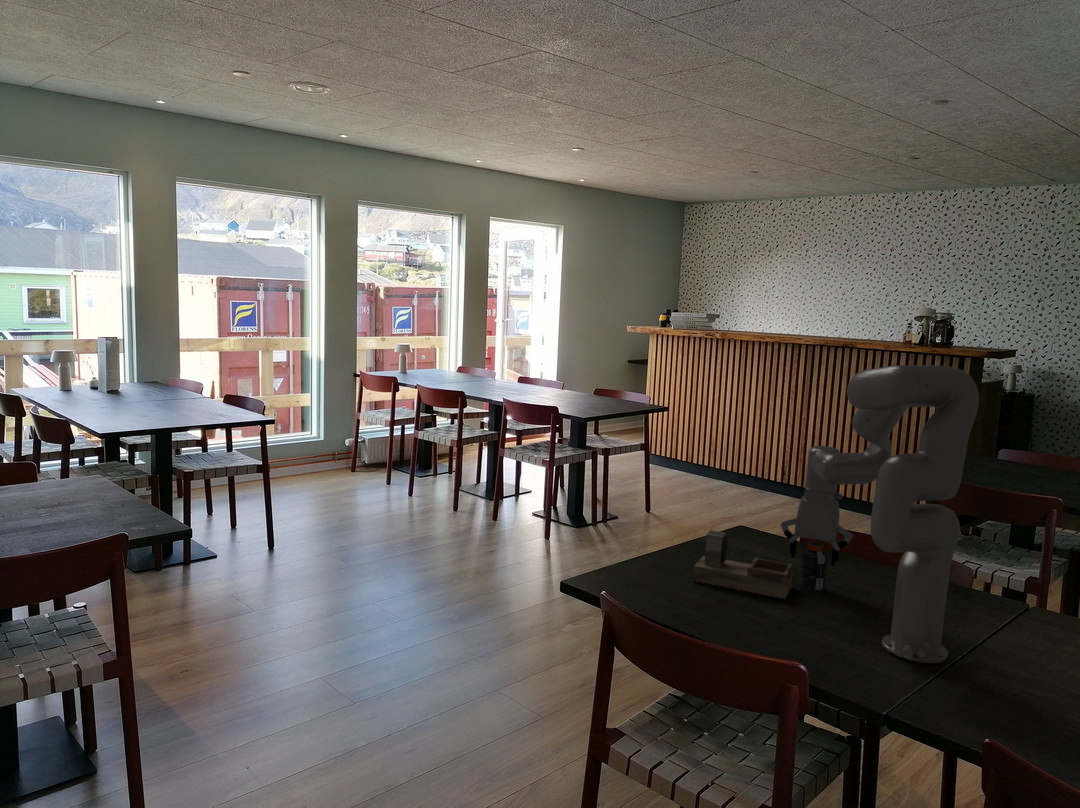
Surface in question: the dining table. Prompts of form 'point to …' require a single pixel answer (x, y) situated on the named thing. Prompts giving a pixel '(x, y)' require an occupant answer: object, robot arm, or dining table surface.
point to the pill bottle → (813, 567)
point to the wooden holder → (741, 570)
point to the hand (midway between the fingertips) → (813, 560)
